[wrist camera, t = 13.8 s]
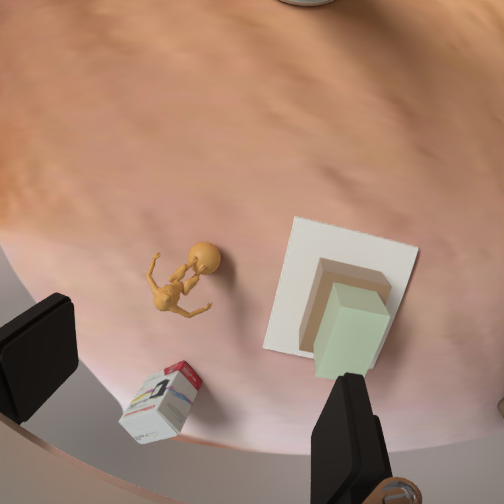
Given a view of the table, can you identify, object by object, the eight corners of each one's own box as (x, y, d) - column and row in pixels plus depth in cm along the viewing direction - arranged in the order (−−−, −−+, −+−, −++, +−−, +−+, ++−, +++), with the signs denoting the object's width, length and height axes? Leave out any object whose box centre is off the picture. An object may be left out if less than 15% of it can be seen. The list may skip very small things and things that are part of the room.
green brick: (333, 282, 33) (340, 306, 28) (376, 291, 33) (390, 316, 27) (313, 345, 36) (315, 376, 30) (353, 352, 35) (361, 383, 30)
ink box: (185, 358, 46) (157, 409, 35) (204, 382, 47) (181, 434, 36) (147, 376, 48) (115, 422, 37) (165, 397, 49) (138, 445, 38)
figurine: (242, 266, 41) (222, 306, 29) (211, 296, 43) (182, 342, 31) (195, 220, 40) (156, 243, 29) (166, 252, 42) (122, 284, 30)
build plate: (294, 215, 38) (294, 224, 32) (415, 245, 37) (433, 260, 31) (263, 343, 43) (258, 369, 38) (371, 364, 42) (379, 390, 36)
